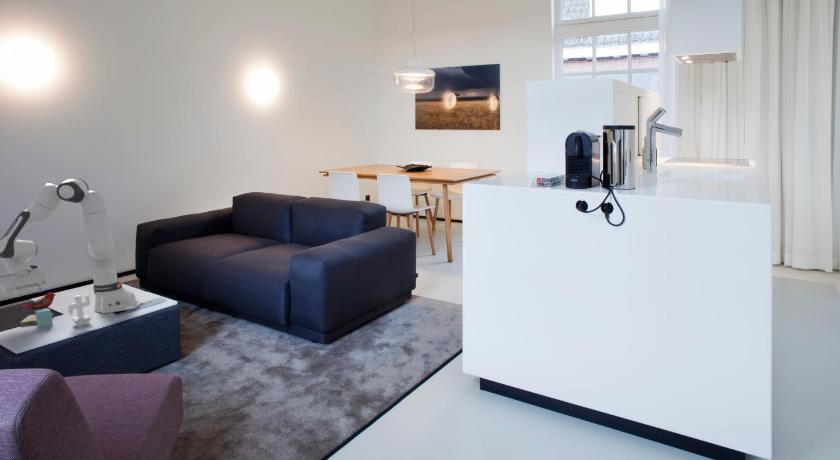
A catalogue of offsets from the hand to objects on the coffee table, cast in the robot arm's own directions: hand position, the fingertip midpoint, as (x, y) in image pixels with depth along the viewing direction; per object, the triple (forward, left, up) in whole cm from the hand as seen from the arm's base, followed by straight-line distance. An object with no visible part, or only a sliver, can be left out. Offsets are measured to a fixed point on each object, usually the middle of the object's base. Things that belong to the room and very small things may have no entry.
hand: (30, 293), depth 285 cm
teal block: (-8, +10, -15) cm, 19 cm away
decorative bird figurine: (+3, -15, -15) cm, 21 cm away
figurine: (-26, +14, -15) cm, 33 cm away
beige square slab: (-1, 0, -15) cm, 15 cm away
